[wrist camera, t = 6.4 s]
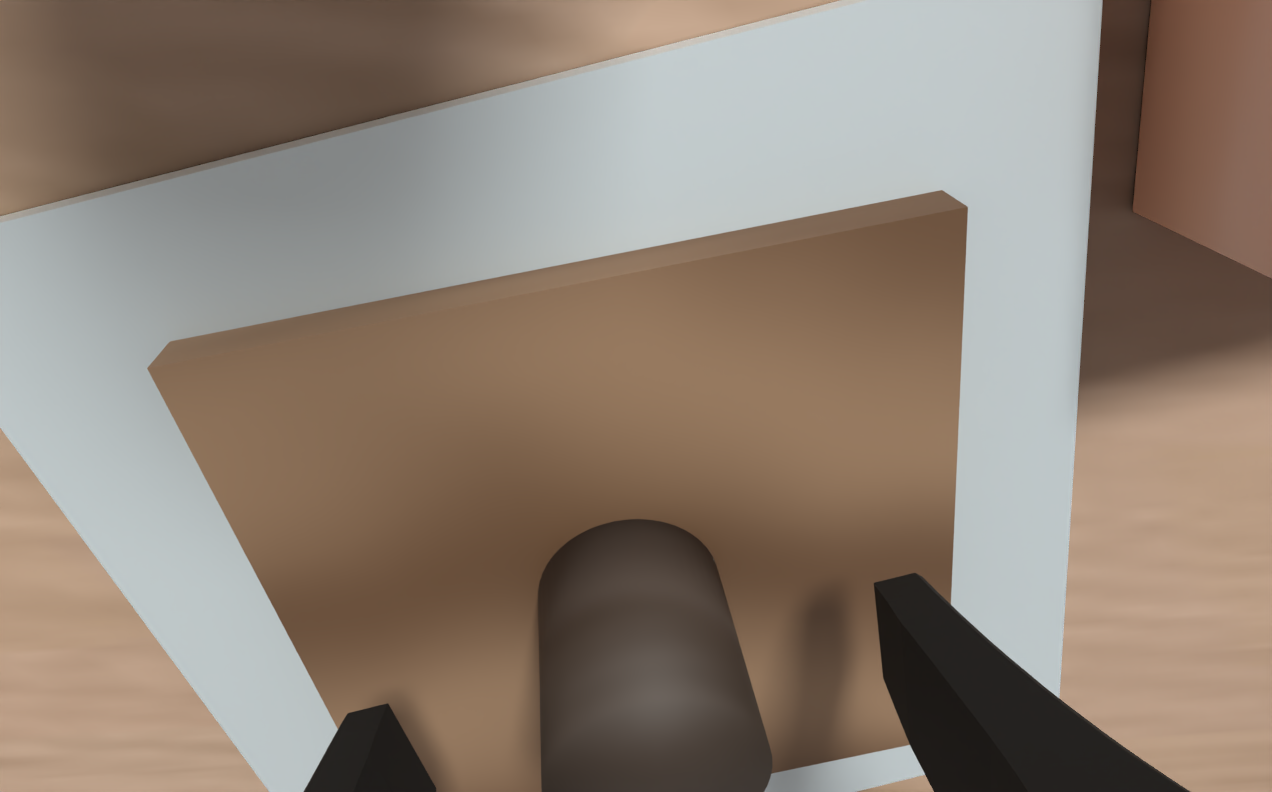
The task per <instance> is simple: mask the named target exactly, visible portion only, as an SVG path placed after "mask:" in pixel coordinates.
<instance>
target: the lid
mask: <svg viewBox="0 0 1272 792" xmlns="http://www.w3.org/2000/svg"><path fill="white" fill-rule="evenodd" d="M967 218H968V207H967V206H966V205H964V204H963V203H961V202H960V201H958V200H957V199H955V198H954V197H952V196H950V195H949V194H947V193H946V192H944V191H943V190H940V191H934V192H929V193H924V194H919V195H914V196H909V197H904V198H899V199H894V200H889V201H884V202H878V203H873V204H868V205H863V206H858V207H853V208H848V209H843V210H838V211H833V212H827V213H822V214H817V215H812V216H807V217H802V218H797V219H792V220H787V221H782V222H776V223H771V224H766V225H761V226H756V227H751V228H746V229H741V230H736V231H731V232H725V233H720V234H715V235H710V236H705V237H700V238H695V239H690V240H685V241H680V242H674V243H669V244H664V245H659V246H654V247H649V248H644V249H639V250H634V251H629V252H624V253H618V254H613V255H608V256H603V257H598V258H593V259H588V260H583V261H578V262H573V263H567V264H562V265H557V266H552V267H547V268H542V269H537V270H532V271H527V272H522V273H516V274H511V275H506V276H501V277H496V278H491V279H486V280H481V281H476V282H471V283H465V284H460V285H455V286H450V287H445V288H440V289H435V290H430V291H425V292H420V293H414V294H409V295H404V296H399V297H394V298H389V299H384V300H379V301H374V302H369V303H363V304H358V305H353V306H348V307H343V308H338V309H333V310H328V311H323V312H318V313H313V314H307V315H302V316H297V317H292V318H287V319H282V320H277V321H272V322H267V323H262V324H256V325H251V326H246V327H241V328H236V329H231V330H226V331H221V332H216V333H211V334H205V335H200V336H195V337H190V338H185V339H180V340H175V341H170V342H169V343H168V344H167V345H166V346H165V348H164V349H163V350H162V351H161V352H160V354H159V355H158V356H157V357H156V358H155V359H154V361H153V362H152V363H151V364H150V365H149V367H148V368H147V369H148V371H149V373H150V375H151V377H152V379H153V381H154V382H155V384H156V386H157V388H158V390H159V392H160V394H161V396H162V398H163V400H164V401H165V403H166V405H167V407H168V409H169V411H170V413H171V415H172V417H173V418H174V420H175V422H176V424H177V426H178V428H179V430H180V432H181V434H182V435H183V437H184V439H185V441H186V443H187V445H188V447H189V449H190V451H191V452H192V454H193V456H194V458H195V460H196V462H197V464H198V466H199V468H200V469H201V471H202V473H203V475H204V477H205V479H206V481H207V483H208V485H209V487H210V488H211V490H212V492H213V494H214V496H215V498H216V500H217V502H218V504H219V505H220V507H221V509H222V511H223V513H224V515H225V517H226V519H227V521H228V522H229V524H230V526H231V528H232V530H233V532H234V534H235V536H236V538H237V539H238V541H239V543H240V545H241V547H242V549H243V551H244V553H245V555H246V557H247V558H248V560H249V562H250V564H251V566H252V568H253V570H254V572H255V574H256V575H257V577H258V579H259V581H260V583H261V585H262V587H263V589H264V591H265V592H266V594H267V596H268V598H269V600H270V602H271V604H272V606H273V608H274V609H275V611H276V613H277V615H278V617H279V619H280V621H281V623H282V625H283V626H284V628H285V630H286V632H287V634H288V636H289V638H290V640H291V642H292V644H293V645H294V647H295V649H296V651H297V653H298V655H299V657H300V659H301V661H302V662H303V664H304V666H305V668H306V670H307V672H308V674H309V676H310V678H311V679H312V681H313V683H314V685H315V687H316V689H317V691H318V693H319V695H320V696H321V698H322V700H323V702H324V704H325V706H326V708H327V710H328V712H329V714H330V715H331V717H332V719H333V721H334V723H335V725H336V727H337V729H338V728H339V727H340V725H341V723H342V721H343V720H344V718H345V717H346V715H347V713H350V712H355V711H359V710H363V709H367V708H371V707H375V706H379V705H383V704H387V703H388V704H389V706H390V707H391V709H392V711H393V713H394V714H395V716H396V718H397V720H398V721H399V723H400V725H401V727H402V729H403V730H404V732H405V734H406V736H407V737H408V739H409V741H410V743H411V744H412V746H413V748H414V750H415V752H416V753H417V755H418V757H419V759H420V760H421V762H422V764H423V766H424V767H425V769H426V771H427V773H428V774H429V776H430V778H431V780H432V782H433V783H434V785H435V787H436V792H764V791H765V789H766V787H767V785H768V783H769V780H770V777H771V774H772V773H777V772H782V771H787V770H791V769H796V768H801V767H806V766H811V765H816V764H820V763H825V762H830V761H835V760H840V759H844V758H849V757H854V756H859V755H864V754H869V753H873V752H878V751H883V750H888V749H893V748H897V747H902V746H907V745H910V744H909V741H908V739H907V737H906V734H905V732H904V729H903V727H902V724H901V722H900V719H899V717H898V715H897V712H896V710H895V707H894V704H893V702H892V699H891V697H890V694H889V692H888V689H887V687H886V684H885V682H884V679H883V672H882V662H881V652H880V642H879V632H878V622H877V612H876V602H875V592H874V583H875V582H879V581H883V580H887V579H891V578H895V577H899V576H903V575H907V574H911V573H917V574H919V575H920V576H922V577H923V578H924V579H925V580H926V581H927V582H928V583H929V584H930V585H931V586H932V587H933V588H934V589H935V590H936V591H937V592H938V593H939V594H940V595H941V596H943V597H944V598H945V599H946V600H947V601H948V602H949V603H950V604H951V590H952V567H953V543H954V520H955V497H956V474H957V450H958V427H959V404H960V381H961V358H962V334H963V311H964V288H965V265H966V241H967Z"/></svg>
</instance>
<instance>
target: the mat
mask: <svg viewBox="0 0 1272 792" xmlns="http://www.w3.org/2000/svg"><path fill="white" fill-rule="evenodd" d="M1102 3H1103V0H840V1H836V2H832V3H828V4H825V5H821V6H817V7H813V8H809V9H805V10H801V11H797V12H793V13H789V14H786V15H782V16H778V17H774V18H770V19H766V20H762V21H758V22H754V23H751V24H747V25H743V26H739V27H735V28H731V29H727V30H723V31H719V32H716V33H712V34H708V35H704V36H700V37H696V38H692V39H688V40H684V41H680V42H677V43H673V44H669V45H665V46H661V47H657V48H653V49H649V50H645V51H642V52H638V53H634V54H630V55H626V56H622V57H618V58H614V59H610V60H607V61H603V62H599V63H595V64H591V65H587V66H583V67H579V68H575V69H571V70H568V71H564V72H560V73H556V74H552V75H548V76H544V77H540V78H536V79H533V80H529V81H525V82H521V83H517V84H513V85H509V86H505V87H501V88H498V89H494V90H490V91H486V92H482V93H478V94H474V95H470V96H466V97H462V98H459V99H455V100H451V101H447V102H443V103H439V104H435V105H431V106H427V107H424V108H420V109H416V110H412V111H408V112H404V113H400V114H396V115H392V116H389V117H385V118H381V119H377V120H373V121H369V122H365V123H361V124H357V125H353V126H350V127H346V128H342V129H338V130H334V131H330V132H326V133H322V134H318V135H315V136H311V137H307V138H303V139H299V140H295V141H291V142H287V143H283V144H280V145H276V146H272V147H268V148H264V149H260V150H256V151H252V152H248V153H244V154H241V155H237V156H233V157H229V158H225V159H221V160H217V161H213V162H209V163H206V164H202V165H198V166H194V167H190V168H186V169H182V170H178V171H174V172H171V173H167V174H163V175H159V176H155V177H151V178H147V179H143V180H139V181H135V182H132V183H128V184H124V185H120V186H116V187H112V188H108V189H104V190H100V191H97V192H93V193H89V194H85V195H81V196H77V197H73V198H69V199H65V200H62V201H58V202H54V203H50V204H46V205H42V206H38V207H34V208H30V209H26V210H23V211H19V212H15V213H11V214H7V215H3V216H0V428H1V429H2V431H3V432H4V433H5V435H6V436H7V437H8V439H9V440H10V441H11V443H12V444H13V445H14V447H15V448H16V450H17V451H18V452H19V454H20V455H21V456H22V458H23V459H24V460H25V462H26V463H27V464H28V466H29V467H30V468H31V470H32V471H33V473H34V474H35V475H36V477H37V478H38V479H39V481H40V482H41V483H42V485H43V486H44V487H45V489H46V490H47V491H48V493H49V494H50V496H51V497H52V498H53V500H54V501H55V502H56V504H57V505H58V506H59V508H60V509H61V510H62V512H63V513H64V515H65V516H66V517H67V519H68V520H69V521H70V523H71V524H72V525H73V527H74V528H75V529H76V531H77V532H78V533H79V535H80V536H81V538H82V539H83V540H84V542H85V543H86V544H87V546H88V547H89V548H90V550H91V551H92V552H93V554H94V555H95V556H96V558H97V559H98V561H99V562H100V563H101V565H102V566H103V567H104V569H105V570H106V571H107V573H108V574H109V575H110V577H111V578H112V579H113V581H114V582H115V584H116V585H117V586H118V588H119V589H120V590H121V592H122V593H123V594H124V596H125V597H126V598H127V600H128V601H129V603H130V604H131V605H132V607H133V608H134V609H135V611H136V612H137V613H138V615H139V616H140V617H141V619H142V620H143V621H144V623H145V624H146V626H147V627H148V628H149V630H150V631H151V632H152V634H153V635H154V636H155V638H156V639H157V640H158V642H159V643H160V644H161V646H162V647H163V649H164V650H165V651H166V653H167V654H168V655H169V657H170V658H171V659H172V661H173V662H174V663H175V665H176V666H177V667H178V669H179V670H180V672H181V673H182V674H183V676H184V677H185V678H186V680H187V681H188V682H189V684H190V685H191V686H192V688H193V689H194V690H195V692H196V693H197V695H198V696H199V697H200V699H201V700H202V701H203V703H204V704H205V705H206V707H207V708H208V709H209V711H210V712H211V714H212V715H213V716H214V718H215V719H216V720H217V722H218V723H219V724H220V726H221V727H222V728H223V730H224V731H225V732H226V734H227V735H228V737H229V738H230V739H231V741H232V742H233V743H234V745H235V746H236V747H237V749H238V750H239V751H240V753H241V754H242V755H243V757H244V758H245V760H246V761H247V762H248V764H249V765H250V766H251V768H252V769H253V770H254V772H255V773H256V774H257V776H258V777H259V778H260V780H261V781H262V783H263V784H264V785H265V787H266V788H267V789H268V791H269V792H304V790H305V788H306V786H307V785H308V783H309V781H310V779H311V777H312V775H313V774H314V772H315V770H316V768H317V766H318V765H319V763H320V761H321V759H322V757H323V755H324V754H325V752H326V750H327V748H328V746H329V745H330V743H331V741H332V739H333V737H334V736H335V734H336V732H337V730H338V729H337V727H336V725H335V723H334V721H333V719H332V717H331V715H330V714H329V712H328V710H327V708H326V706H325V704H324V702H323V700H322V698H321V696H320V695H319V693H318V691H317V689H316V687H315V685H314V683H313V681H312V679H311V678H310V676H309V674H308V672H307V670H306V668H305V666H304V664H303V662H302V661H301V659H300V657H299V655H298V653H297V651H296V649H295V647H294V645H293V644H292V642H291V640H290V638H289V636H288V634H287V632H286V630H285V628H284V626H283V625H282V623H281V621H280V619H279V617H278V615H277V613H276V611H275V609H274V608H273V606H272V604H271V602H270V600H269V598H268V596H267V594H266V592H265V591H264V589H263V587H262V585H261V583H260V581H259V579H258V577H257V575H256V574H255V572H254V570H253V568H252V566H251V564H250V562H249V560H248V558H247V557H246V555H245V553H244V551H243V549H242V547H241V545H240V543H239V541H238V539H237V538H236V536H235V534H234V532H233V530H232V528H231V526H230V524H229V522H228V521H227V519H226V517H225V515H224V513H223V511H222V509H221V507H220V505H219V504H218V502H217V500H216V498H215V496H214V494H213V492H212V490H211V488H210V487H209V485H208V483H207V481H206V479H205V477H204V475H203V473H202V471H201V469H200V468H199V466H198V464H197V462H196V460H195V458H194V456H193V454H192V452H191V451H190V449H189V447H188V445H187V443H186V441H185V439H184V437H183V435H182V434H181V432H180V430H179V428H178V426H177V424H176V422H175V420H174V418H173V417H172V415H171V413H170V411H169V409H168V407H167V405H166V403H165V401H164V400H163V398H162V396H161V394H160V392H159V390H158V388H157V386H156V384H155V382H154V381H153V379H152V377H151V375H150V373H149V371H148V369H147V368H148V367H149V365H150V364H151V363H152V362H153V361H154V359H155V358H156V357H157V356H158V355H159V354H160V352H161V351H162V350H163V349H164V348H165V346H166V345H167V344H168V343H169V342H170V341H175V340H180V339H185V338H190V337H195V336H200V335H205V334H211V333H216V332H221V331H226V330H231V329H236V328H241V327H246V326H251V325H256V324H262V323H267V322H272V321H277V320H282V319H287V318H292V317H297V316H302V315H307V314H313V313H318V312H323V311H328V310H333V309H338V308H343V307H348V306H353V305H358V304H363V303H369V302H374V301H379V300H384V299H389V298H394V297H399V296H404V295H409V294H414V293H420V292H425V291H430V290H435V289H440V288H445V287H450V286H455V285H460V284H465V283H471V282H476V281H481V280H486V279H491V278H496V277H501V276H506V275H511V274H516V273H522V272H527V271H532V270H537V269H542V268H547V267H552V266H557V265H562V264H567V263H573V262H578V261H583V260H588V259H593V258H598V257H603V256H608V255H613V254H618V253H624V252H629V251H634V250H639V249H644V248H649V247H654V246H659V245H664V244H669V243H674V242H680V241H685V240H690V239H695V238H700V237H705V236H710V235H715V234H720V233H725V232H731V231H736V230H741V229H746V228H751V227H756V226H761V225H766V224H771V223H776V222H782V221H787V220H792V219H797V218H802V217H807V216H812V215H817V214H822V213H827V212H833V211H838V210H843V209H848V208H853V207H858V206H863V205H868V204H873V203H878V202H884V201H889V200H894V199H899V198H904V197H909V196H914V195H919V194H924V193H929V192H934V191H940V190H943V191H944V192H946V193H947V194H949V195H950V196H952V197H954V198H955V199H957V200H958V201H960V202H961V203H963V204H964V205H966V206H967V207H968V218H967V241H966V265H965V288H964V311H963V334H962V358H961V381H960V404H959V427H958V450H957V474H956V497H955V520H954V543H953V567H952V590H951V605H952V606H953V607H954V608H955V609H956V610H957V611H958V612H959V613H960V614H961V615H962V616H963V617H965V618H966V619H967V620H968V621H969V622H970V623H971V624H972V625H973V626H974V627H975V628H977V629H978V630H979V631H980V632H981V633H982V634H983V635H984V636H985V637H987V638H988V639H989V640H990V641H991V642H992V643H993V644H994V645H996V646H997V647H998V648H999V649H1000V650H1001V651H1002V652H1004V653H1005V654H1006V655H1007V656H1008V657H1009V658H1011V659H1012V660H1013V661H1014V662H1015V663H1017V664H1018V665H1019V666H1020V667H1021V668H1023V669H1024V670H1025V671H1026V672H1027V673H1029V674H1030V675H1031V676H1032V677H1033V678H1035V679H1036V680H1037V681H1038V682H1039V683H1041V684H1042V685H1043V686H1044V687H1045V688H1047V689H1048V690H1049V691H1050V692H1052V693H1053V694H1054V695H1055V696H1057V697H1058V698H1059V695H1060V679H1061V663H1062V647H1063V631H1064V614H1065V598H1066V582H1067V566H1068V550H1069V534H1070V518H1071V502H1072V486H1073V470H1074V454H1075V438H1076V421H1077V405H1078V389H1079V373H1080V357H1081V341H1082V325H1083V309H1084V293H1085V277H1086V261H1087V244H1088V228H1089V212H1090V196H1091V180H1092V164H1093V148H1094V132H1095V116H1096V100H1097V84H1098V68H1099V51H1100V35H1101V19H1102ZM922 775H925V773H924V771H923V769H922V767H921V766H920V764H919V762H918V760H917V758H916V756H915V754H914V752H913V750H912V748H911V746H910V745H907V746H902V747H897V748H893V749H888V750H883V751H878V752H873V753H869V754H864V755H859V756H854V757H849V758H844V759H840V760H835V761H830V762H825V763H820V764H816V765H811V766H806V767H801V768H796V769H791V770H787V771H782V772H777V773H772V774H771V777H770V780H769V783H768V785H767V787H766V789H765V791H764V792H856V791H861V790H865V789H869V788H873V787H877V786H881V785H885V784H889V783H893V782H897V781H901V780H905V779H910V778H914V777H918V776H922Z"/></svg>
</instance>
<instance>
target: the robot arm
mask: <svg viewBox="0 0 1272 792" xmlns="http://www.w3.org/2000/svg"><path fill="white" fill-rule="evenodd" d="M874 592H875V602H876V612H877V622H878V632H879V642H880V652H881V662H882V672H883V679H884V682H885V684H886V687H887V689H888V692H889V694H890V697H891V699H892V702H893V704H894V707H895V710H896V712H897V715H898V717H899V719H900V722H901V724H902V727H903V729H904V732H905V734H906V737H907V739H908V741H909V744H910V746H911V748H912V750H913V752H914V754H915V756H916V758H917V760H918V762H919V764H920V766H921V767H922V769H923V771H924V773H925V775H926V777H927V779H928V781H929V783H930V785H931V786H932V788H933V790H934V792H1190V791H1188V790H1187V789H1185V788H1184V787H1182V786H1181V785H1179V784H1178V783H1176V782H1175V781H1173V780H1172V779H1170V778H1169V777H1167V776H1166V775H1164V774H1163V773H1161V772H1160V771H1158V770H1157V769H1155V768H1154V767H1152V766H1151V765H1149V764H1148V763H1146V762H1145V761H1143V760H1142V759H1140V758H1139V757H1137V756H1136V755H1135V754H1133V753H1132V752H1130V751H1129V750H1127V749H1126V748H1125V747H1123V746H1122V745H1120V744H1119V743H1118V742H1116V741H1115V740H1114V739H1112V738H1111V737H1109V736H1108V735H1107V734H1105V733H1104V732H1102V731H1101V730H1100V729H1099V728H1097V727H1096V726H1095V725H1093V724H1092V723H1091V722H1089V721H1088V720H1087V719H1085V718H1084V717H1083V716H1081V715H1080V714H1079V713H1077V712H1076V711H1075V710H1073V709H1072V708H1071V707H1069V706H1068V705H1067V704H1066V703H1064V702H1063V701H1062V700H1061V699H1059V698H1058V697H1057V696H1055V695H1054V694H1053V693H1052V692H1050V691H1049V690H1048V689H1047V688H1045V687H1044V686H1043V685H1042V684H1041V683H1039V682H1038V681H1037V680H1036V679H1035V678H1033V677H1032V676H1031V675H1030V674H1029V673H1027V672H1026V671H1025V670H1024V669H1023V668H1021V667H1020V666H1019V665H1018V664H1017V663H1015V662H1014V661H1013V660H1012V659H1011V658H1009V657H1008V656H1007V655H1006V654H1005V653H1004V652H1002V651H1001V650H1000V649H999V648H998V647H997V646H996V645H994V644H993V643H992V642H991V641H990V640H989V639H988V638H987V637H985V636H984V635H983V634H982V633H981V632H980V631H979V630H978V629H977V628H975V627H974V626H973V625H972V624H971V623H970V622H969V621H968V620H967V619H966V618H965V617H963V616H962V615H961V614H960V613H959V612H958V611H957V610H956V609H955V608H954V607H953V606H952V605H951V604H950V603H949V602H948V601H947V600H946V599H945V598H944V597H943V596H941V595H940V594H939V593H938V592H937V591H936V590H935V589H934V588H933V587H932V586H931V585H930V584H929V583H928V582H927V581H926V580H925V579H924V578H923V577H922V576H920V575H919V574H917V573H911V574H907V575H903V576H899V577H895V578H891V579H887V580H883V581H879V582H875V583H874ZM304 792H436V787H435V785H434V783H433V782H432V780H431V778H430V776H429V774H428V773H427V771H426V769H425V767H424V766H423V764H422V762H421V760H420V759H419V757H418V755H417V753H416V752H415V750H414V748H413V746H412V744H411V743H410V741H409V739H408V737H407V736H406V734H405V732H404V730H403V729H402V727H401V725H400V723H399V721H398V720H397V718H396V716H395V714H394V713H393V711H392V709H391V707H390V706H389V704H388V703H387V704H383V705H379V706H375V707H371V708H367V709H363V710H359V711H355V712H350V713H347V715H346V717H345V718H344V720H343V721H342V723H341V725H340V727H339V728H338V730H337V732H336V734H335V736H334V737H333V739H332V741H331V743H330V745H329V746H328V748H327V750H326V752H325V754H324V755H323V757H322V759H321V761H320V763H319V765H318V766H317V768H316V770H315V772H314V774H313V775H312V777H311V779H310V781H309V783H308V785H307V786H306V788H305V790H304Z"/></svg>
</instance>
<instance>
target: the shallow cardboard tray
mask: <svg viewBox="0 0 1272 792" xmlns="http://www.w3.org/2000/svg"><path fill="white" fill-rule="evenodd" d="M1133 212H1135V213H1137V214H1139V215H1141V216H1143V217H1145V218H1147V219H1149V220H1151V221H1153V222H1155V223H1157V224H1160V225H1162V226H1164V227H1166V228H1168V229H1170V230H1172V231H1174V232H1176V233H1178V234H1180V235H1182V236H1184V237H1187V238H1189V239H1191V240H1193V241H1195V242H1197V243H1199V244H1201V245H1203V246H1205V247H1207V248H1209V249H1211V250H1213V251H1216V252H1218V253H1220V254H1222V255H1224V256H1226V257H1228V258H1230V259H1232V260H1234V261H1236V262H1238V263H1240V264H1243V265H1245V266H1247V267H1249V268H1251V269H1253V270H1255V271H1257V272H1259V273H1261V274H1263V275H1265V276H1267V277H1270V278H1272V0H1151V11H1150V22H1149V34H1148V45H1147V56H1146V67H1145V78H1144V89H1143V100H1142V112H1141V123H1140V134H1139V145H1138V156H1137V167H1136V178H1135V190H1134V201H1133Z"/></svg>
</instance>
